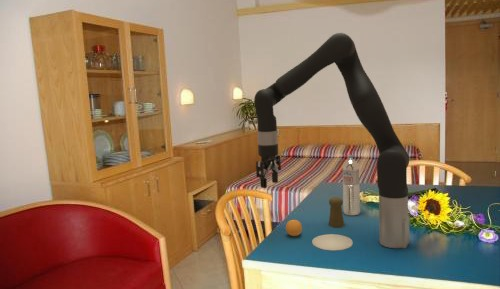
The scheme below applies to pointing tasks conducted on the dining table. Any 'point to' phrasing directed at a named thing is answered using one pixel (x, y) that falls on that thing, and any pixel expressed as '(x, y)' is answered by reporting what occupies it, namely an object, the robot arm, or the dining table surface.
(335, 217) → the brown rounded upright piece
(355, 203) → the water bottle
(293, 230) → the ball
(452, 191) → the dining table surface
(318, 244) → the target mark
